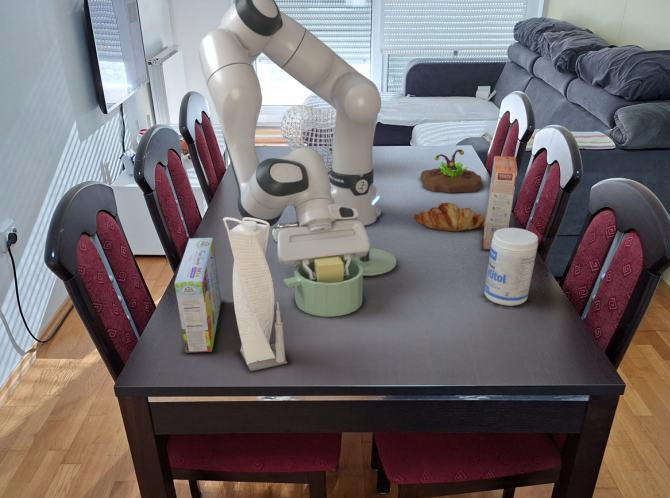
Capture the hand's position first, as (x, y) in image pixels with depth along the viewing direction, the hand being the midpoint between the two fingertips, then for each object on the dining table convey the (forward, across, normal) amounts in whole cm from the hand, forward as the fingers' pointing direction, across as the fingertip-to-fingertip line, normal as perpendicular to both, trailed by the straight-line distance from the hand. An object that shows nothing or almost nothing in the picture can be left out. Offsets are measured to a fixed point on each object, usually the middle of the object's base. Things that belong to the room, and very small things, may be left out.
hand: (329, 279), depth 139 cm
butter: (+3, 0, +4) cm, 5 cm away
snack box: (+6, -28, +1) cm, 28 cm away
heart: (-62, +22, +71) cm, 97 cm away
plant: (-46, +60, +56) cm, 94 cm away
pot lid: (-8, +13, +16) cm, 22 cm away
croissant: (-20, +44, +30) cm, 57 cm away
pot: (+3, 0, +4) cm, 6 cm away
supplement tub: (+10, +38, -1) cm, 40 cm away
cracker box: (-11, +51, +21) cm, 56 cm away
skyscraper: (+17, -19, -9) cm, 27 cm away
